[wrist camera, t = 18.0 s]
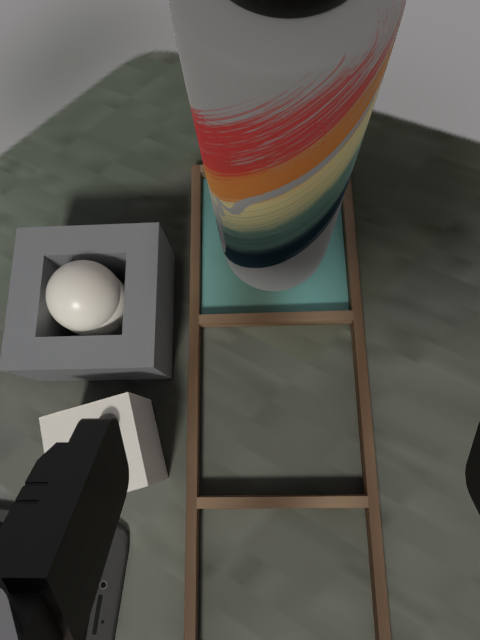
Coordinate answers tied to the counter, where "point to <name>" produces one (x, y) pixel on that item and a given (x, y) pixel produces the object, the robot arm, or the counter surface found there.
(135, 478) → the die
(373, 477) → the track
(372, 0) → the lotion bottle
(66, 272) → the dome
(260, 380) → the counter surface
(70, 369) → the button box
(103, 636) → the cell phone
